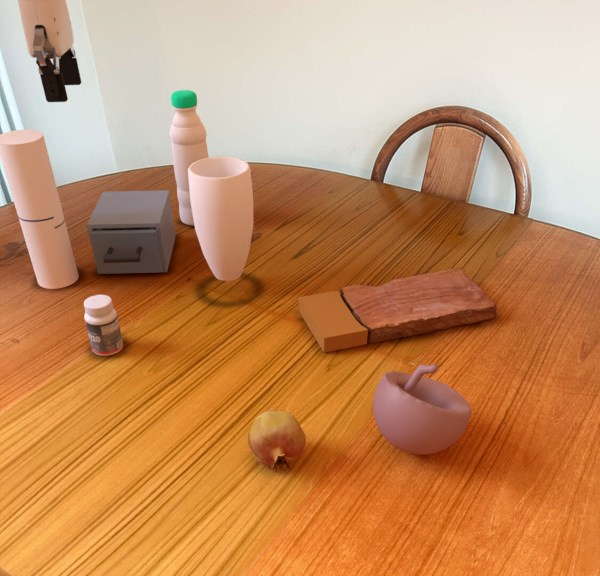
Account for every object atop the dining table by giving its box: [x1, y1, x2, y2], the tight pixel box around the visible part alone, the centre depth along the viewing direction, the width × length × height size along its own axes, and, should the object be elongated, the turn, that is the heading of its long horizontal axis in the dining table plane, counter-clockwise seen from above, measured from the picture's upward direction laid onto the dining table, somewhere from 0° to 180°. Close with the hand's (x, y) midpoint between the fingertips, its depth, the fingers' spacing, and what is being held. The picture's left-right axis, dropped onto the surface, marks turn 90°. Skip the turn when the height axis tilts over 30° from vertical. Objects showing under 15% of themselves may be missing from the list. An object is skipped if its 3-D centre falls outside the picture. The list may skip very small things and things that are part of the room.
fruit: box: [247, 410, 307, 473], centre depth 81 cm, size 7×7×10 cm
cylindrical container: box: [0, 128, 80, 290], centre depth 110 cm, size 7×7×25 cm
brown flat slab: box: [298, 267, 498, 353], centre depth 107 cm, size 13×30×3 cm, turn 108°
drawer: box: [88, 227, 163, 275], centre depth 119 cm, size 18×11×8 cm, turn 2°
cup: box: [188, 156, 254, 282], centre depth 108 cm, size 10×10×22 cm
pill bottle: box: [83, 294, 124, 357], centre depth 99 cm, size 5×5×8 cm
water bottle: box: [169, 89, 210, 227], centre depth 129 cm, size 7×7×25 cm
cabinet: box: [86, 189, 177, 273], centre depth 122 cm, size 15×13×10 cm
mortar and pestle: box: [372, 363, 472, 456], centre depth 81 cm, size 12×12×11 cm
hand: (64, 92), depth 106 cm, fingers open, 9 cm apart
